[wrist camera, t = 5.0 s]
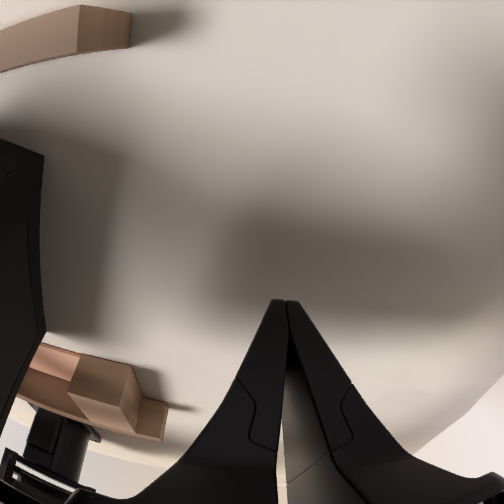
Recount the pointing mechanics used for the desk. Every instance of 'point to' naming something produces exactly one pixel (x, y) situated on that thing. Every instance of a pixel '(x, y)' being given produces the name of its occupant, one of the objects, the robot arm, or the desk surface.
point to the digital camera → (19, 268)
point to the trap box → (48, 357)
